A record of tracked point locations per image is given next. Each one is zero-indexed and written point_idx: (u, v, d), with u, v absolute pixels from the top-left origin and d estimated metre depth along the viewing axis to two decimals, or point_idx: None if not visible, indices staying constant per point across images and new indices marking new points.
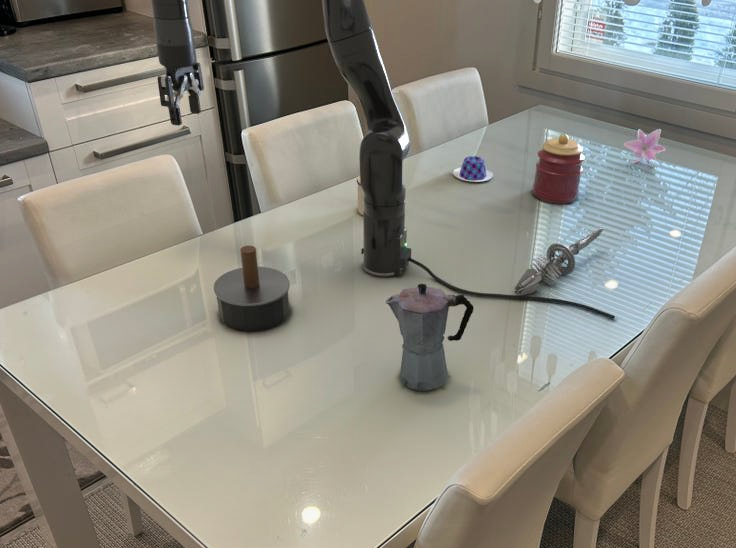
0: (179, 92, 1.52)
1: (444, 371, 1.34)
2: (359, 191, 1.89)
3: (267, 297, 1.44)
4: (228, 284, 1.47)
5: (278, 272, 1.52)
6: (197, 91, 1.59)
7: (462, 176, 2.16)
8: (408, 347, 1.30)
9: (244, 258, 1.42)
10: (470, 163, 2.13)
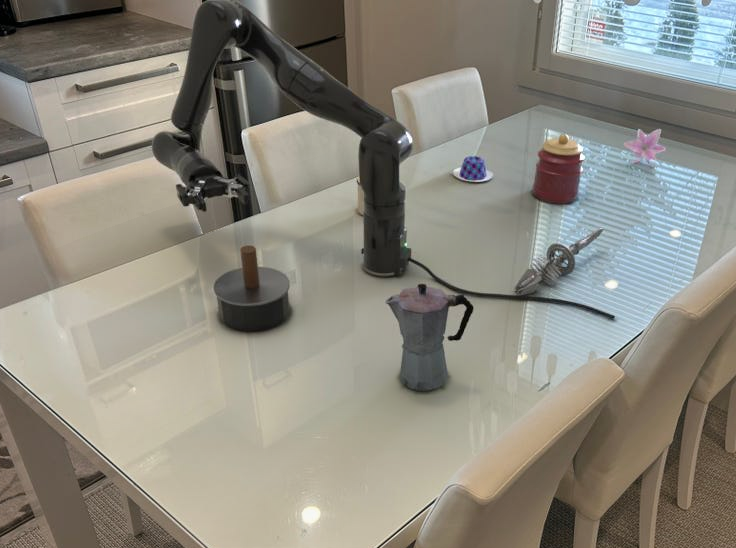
0: None
1: (444, 371, 1.34)
2: (359, 191, 1.89)
3: (267, 297, 1.44)
4: (228, 284, 1.47)
5: (278, 272, 1.52)
6: (235, 185, 1.51)
7: (462, 176, 2.16)
8: (408, 347, 1.30)
9: (244, 258, 1.42)
10: (470, 163, 2.13)
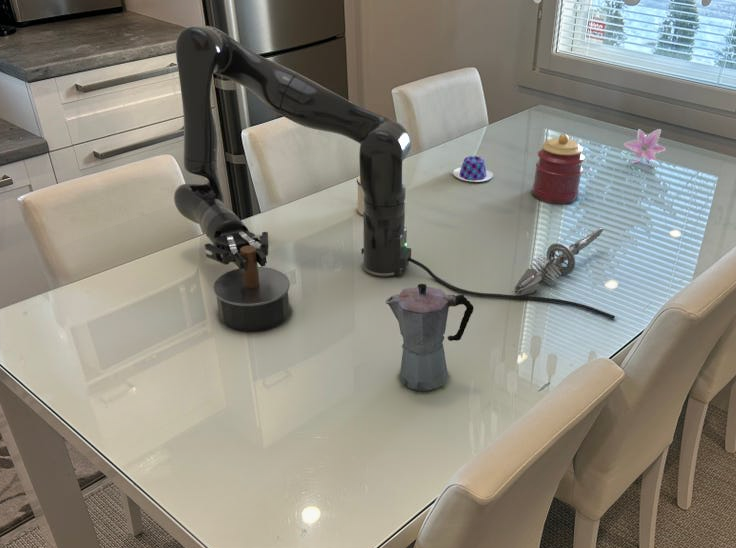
0: (229, 245, 1.45)
1: (444, 371, 1.34)
2: (359, 191, 1.89)
3: (267, 297, 1.44)
4: (228, 284, 1.47)
5: (278, 272, 1.52)
6: (253, 245, 1.45)
7: (462, 176, 2.16)
8: (408, 347, 1.30)
9: None
10: (470, 163, 2.13)
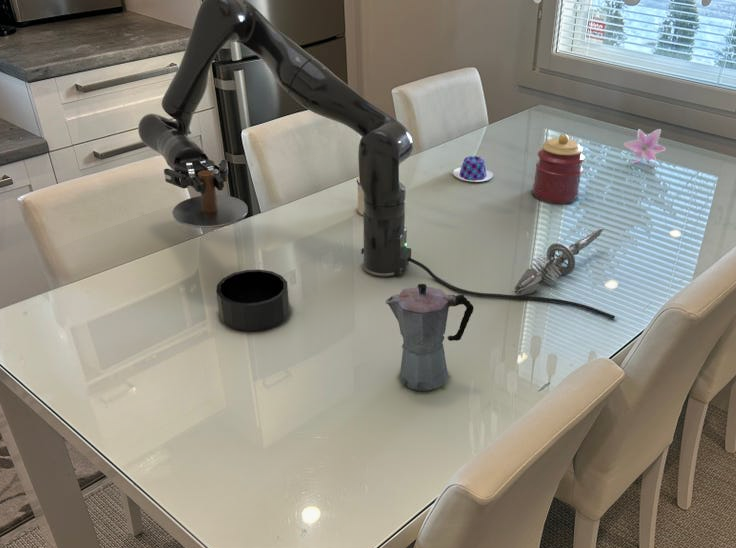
0: (187, 170, 1.48)
1: (444, 371, 1.34)
2: (359, 191, 1.89)
3: (224, 221, 1.47)
4: (187, 209, 1.50)
5: (237, 200, 1.55)
6: (212, 171, 1.49)
7: (462, 176, 2.16)
8: (408, 347, 1.30)
9: None
10: (470, 163, 2.13)
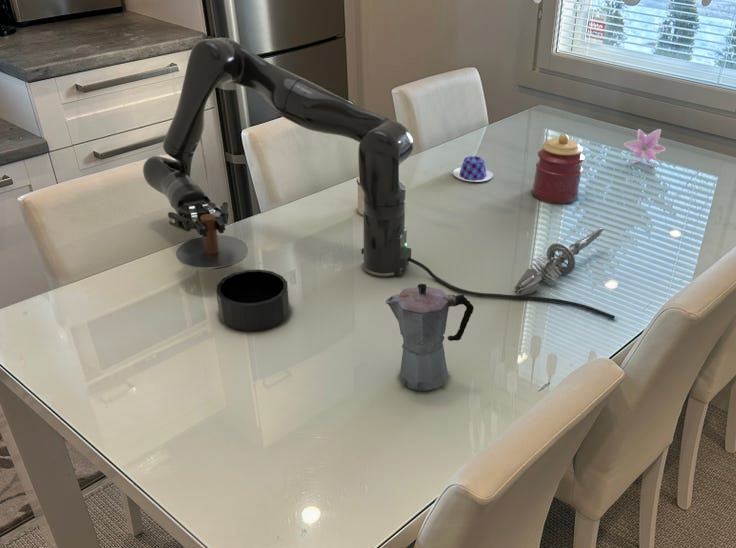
0: (190, 213, 1.55)
1: (444, 371, 1.34)
2: (359, 191, 1.89)
3: (225, 262, 1.55)
4: (190, 250, 1.58)
5: (238, 240, 1.63)
6: (213, 214, 1.56)
7: (462, 176, 2.16)
8: (408, 347, 1.30)
9: None
10: (470, 163, 2.13)
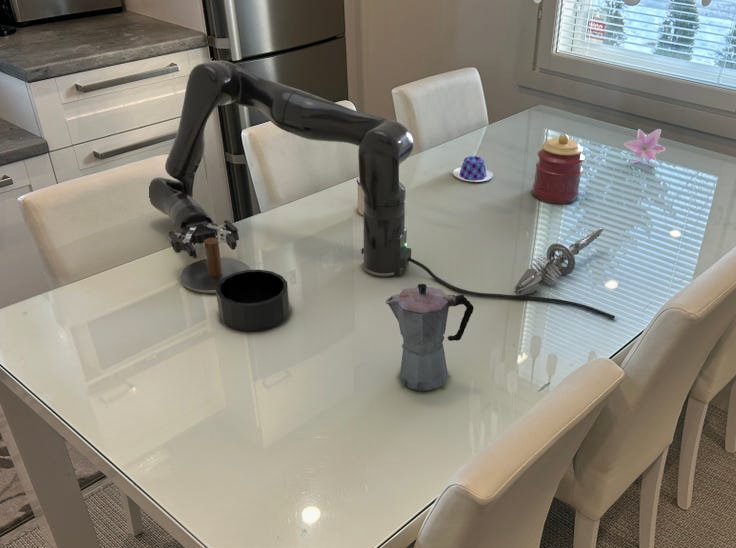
0: None
1: (444, 371, 1.34)
2: (359, 191, 1.89)
3: None
4: (194, 273, 1.61)
5: (240, 262, 1.66)
6: (224, 232, 1.61)
7: (462, 176, 2.16)
8: (408, 347, 1.30)
9: (207, 249, 1.57)
10: (470, 163, 2.13)
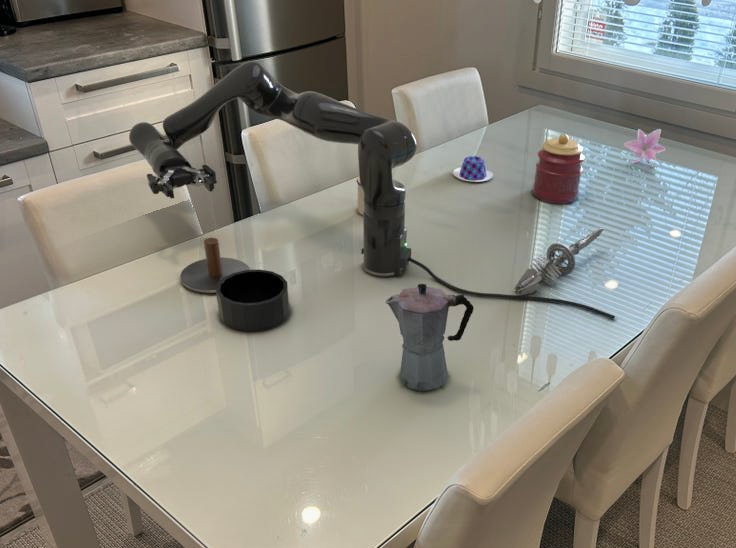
0: None
1: (444, 371, 1.34)
2: (359, 191, 1.89)
3: None
4: (194, 273, 1.61)
5: (240, 262, 1.66)
6: (202, 174, 1.64)
7: (462, 176, 2.16)
8: (408, 347, 1.30)
9: (207, 249, 1.57)
10: (470, 163, 2.13)
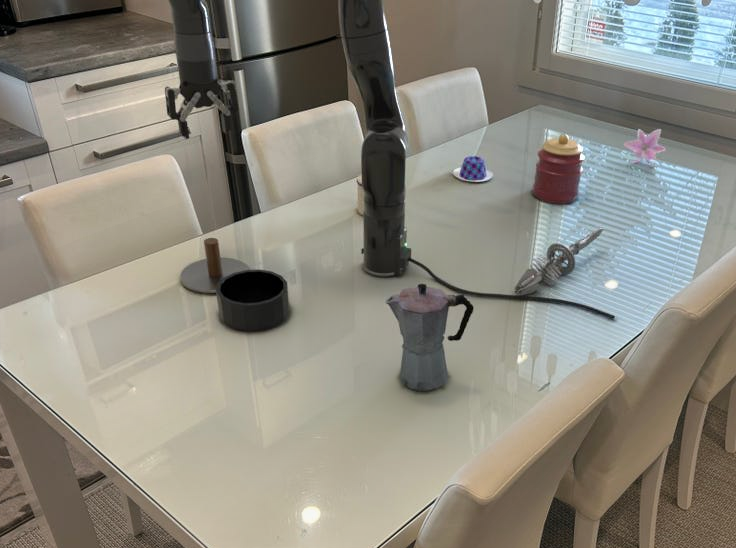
0: (186, 106, 1.48)
1: (444, 371, 1.34)
2: (359, 191, 1.89)
3: None
4: (194, 273, 1.61)
5: (240, 262, 1.66)
6: (224, 111, 1.53)
7: (462, 176, 2.16)
8: (408, 347, 1.30)
9: (207, 249, 1.57)
10: (470, 163, 2.13)
